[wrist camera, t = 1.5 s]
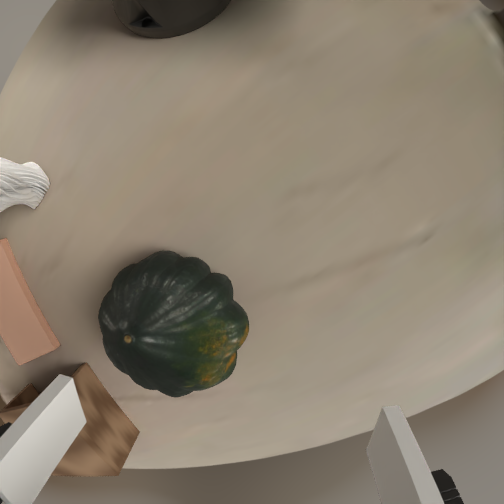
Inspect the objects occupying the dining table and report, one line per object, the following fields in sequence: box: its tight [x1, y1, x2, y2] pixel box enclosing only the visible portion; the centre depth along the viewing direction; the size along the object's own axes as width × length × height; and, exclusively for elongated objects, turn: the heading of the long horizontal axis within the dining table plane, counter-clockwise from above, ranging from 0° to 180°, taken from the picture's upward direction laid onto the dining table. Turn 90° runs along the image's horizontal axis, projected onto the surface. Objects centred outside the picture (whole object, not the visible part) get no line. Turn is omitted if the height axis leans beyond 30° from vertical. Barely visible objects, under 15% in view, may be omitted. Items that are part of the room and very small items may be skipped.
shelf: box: [0, 363, 139, 476], centre depth 37 cm, size 14×18×10 cm
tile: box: [0, 238, 60, 366], centre depth 38 cm, size 18×12×2 cm, turn 27°
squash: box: [98, 251, 249, 397], centre depth 30 cm, size 14×15×15 cm
